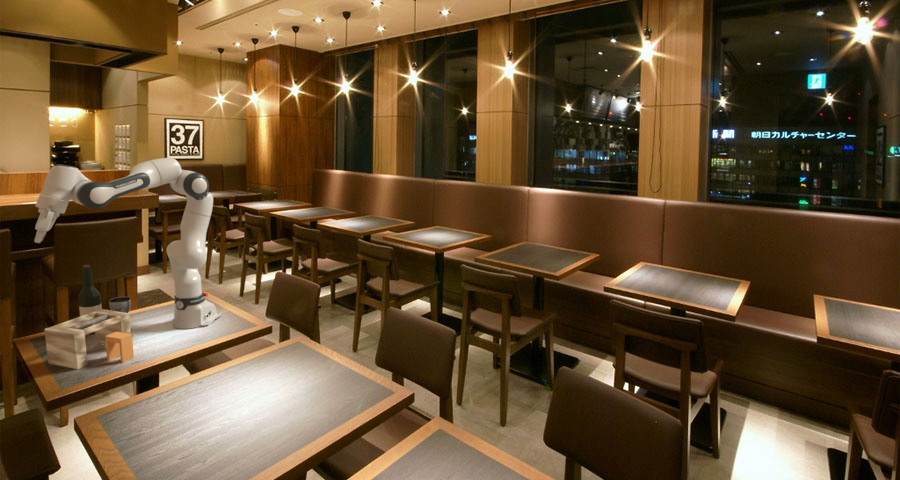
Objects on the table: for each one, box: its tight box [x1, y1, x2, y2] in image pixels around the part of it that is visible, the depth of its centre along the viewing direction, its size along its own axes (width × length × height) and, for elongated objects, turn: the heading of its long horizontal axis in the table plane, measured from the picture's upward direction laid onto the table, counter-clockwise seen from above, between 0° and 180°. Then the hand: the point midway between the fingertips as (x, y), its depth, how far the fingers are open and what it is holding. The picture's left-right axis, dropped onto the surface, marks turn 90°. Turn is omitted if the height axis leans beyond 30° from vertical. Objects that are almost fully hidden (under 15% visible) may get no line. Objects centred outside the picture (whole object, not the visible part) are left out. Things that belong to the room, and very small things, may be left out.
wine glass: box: [108, 296, 133, 332], centre depth 224 cm, size 8×8×15 cm
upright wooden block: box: [105, 332, 135, 364], centre depth 199 cm, size 5×8×10 cm, turn 76°
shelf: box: [44, 308, 132, 370], centre depth 202 cm, size 24×14×14 cm, turn 166°
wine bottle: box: [77, 264, 103, 336], centre depth 222 cm, size 8×8×30 cm
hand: (38, 241), depth 185 cm, fingers open, 8 cm apart
